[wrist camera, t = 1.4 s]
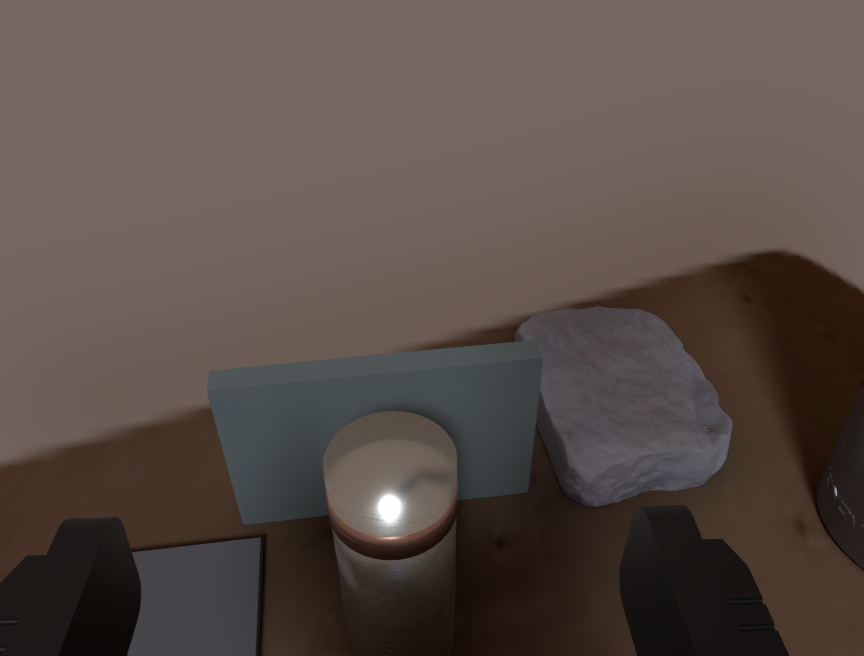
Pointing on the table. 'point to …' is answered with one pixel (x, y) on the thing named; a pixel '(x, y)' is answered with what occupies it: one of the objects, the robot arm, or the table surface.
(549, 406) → the stone block
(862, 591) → the table surface
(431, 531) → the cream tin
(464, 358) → the slate screen
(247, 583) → the dark rubber mat
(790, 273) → the table surface
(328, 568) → the table surface
